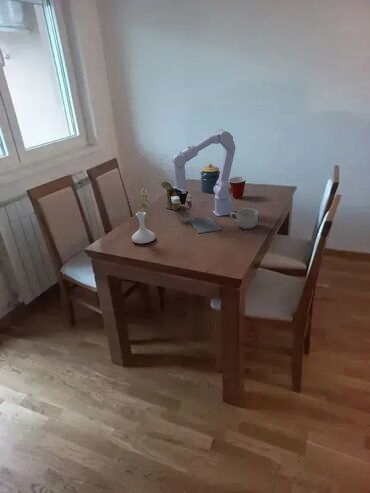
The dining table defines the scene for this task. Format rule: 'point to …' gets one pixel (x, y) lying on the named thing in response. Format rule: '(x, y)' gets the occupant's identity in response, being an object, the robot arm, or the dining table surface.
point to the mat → (204, 225)
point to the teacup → (246, 218)
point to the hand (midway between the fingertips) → (181, 202)
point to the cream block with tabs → (177, 200)
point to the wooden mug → (170, 195)
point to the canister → (209, 178)
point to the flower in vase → (143, 233)
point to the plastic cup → (237, 186)
